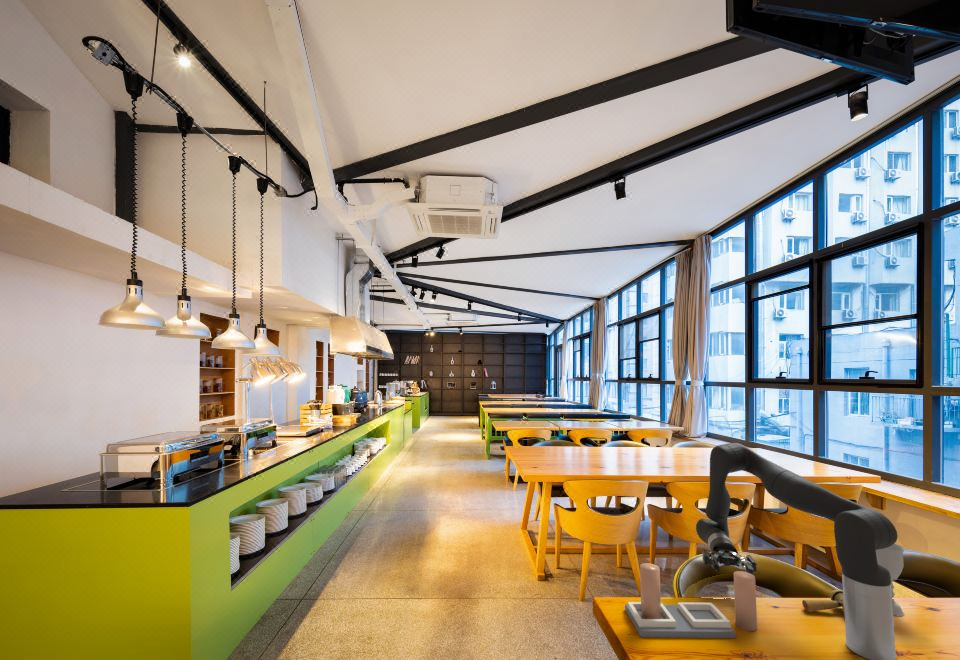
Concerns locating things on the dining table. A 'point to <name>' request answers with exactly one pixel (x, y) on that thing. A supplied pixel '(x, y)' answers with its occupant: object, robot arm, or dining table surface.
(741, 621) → the post
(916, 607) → the dining table surface
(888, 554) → the chalice
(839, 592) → the kendama
